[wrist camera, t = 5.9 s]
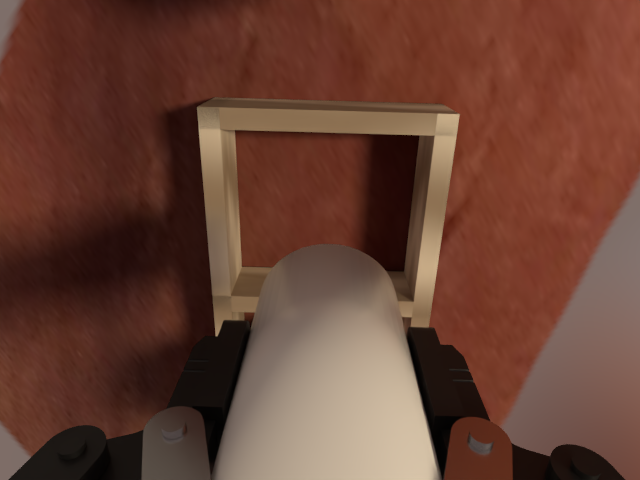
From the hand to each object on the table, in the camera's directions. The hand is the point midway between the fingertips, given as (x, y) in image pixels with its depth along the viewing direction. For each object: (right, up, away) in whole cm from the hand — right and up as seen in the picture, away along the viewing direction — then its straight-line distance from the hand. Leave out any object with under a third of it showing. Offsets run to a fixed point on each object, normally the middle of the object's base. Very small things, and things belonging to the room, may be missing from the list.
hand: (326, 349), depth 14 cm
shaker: (0, +1, +2) cm, 2 cm away
